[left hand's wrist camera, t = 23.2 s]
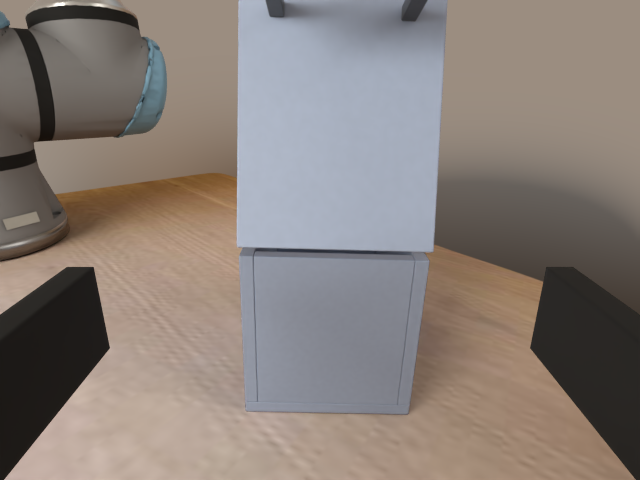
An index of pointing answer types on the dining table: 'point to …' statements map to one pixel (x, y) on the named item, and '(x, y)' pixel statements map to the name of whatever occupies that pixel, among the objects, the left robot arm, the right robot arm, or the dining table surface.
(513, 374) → the dining table surface
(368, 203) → the lid
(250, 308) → the chest
